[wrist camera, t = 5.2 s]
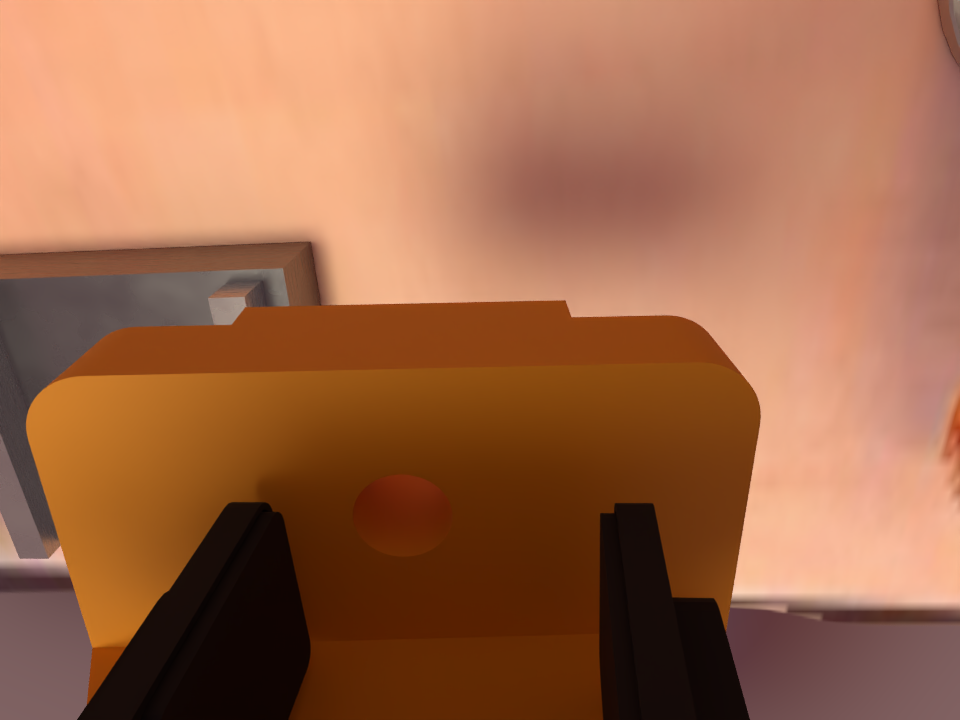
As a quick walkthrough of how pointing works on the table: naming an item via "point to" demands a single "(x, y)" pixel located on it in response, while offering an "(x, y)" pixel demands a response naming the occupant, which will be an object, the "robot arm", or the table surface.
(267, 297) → the block
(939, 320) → the table surface
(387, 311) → the bracket
